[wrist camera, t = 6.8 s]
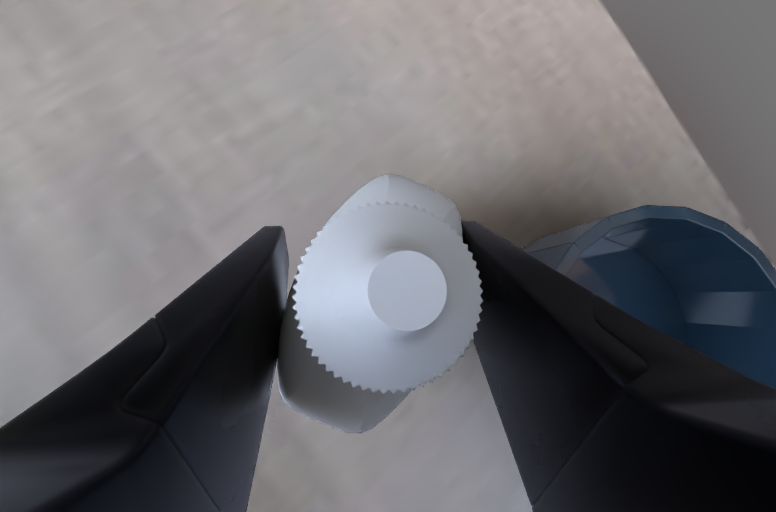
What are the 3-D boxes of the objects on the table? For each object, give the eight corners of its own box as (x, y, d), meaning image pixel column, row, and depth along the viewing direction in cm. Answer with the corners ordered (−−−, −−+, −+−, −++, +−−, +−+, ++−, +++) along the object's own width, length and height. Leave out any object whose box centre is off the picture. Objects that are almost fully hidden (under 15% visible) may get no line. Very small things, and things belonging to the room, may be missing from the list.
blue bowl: (570, 497, 17) (661, 579, 12) (439, 309, 17) (476, 314, 12) (724, 360, 19) (860, 383, 14) (601, 191, 19) (691, 153, 14)
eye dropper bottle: (274, 299, 15) (-50, 285, 3) (384, 218, 16) (494, -53, 4) (339, 387, 14) (286, 768, 3) (447, 300, 15) (774, 293, 4)
